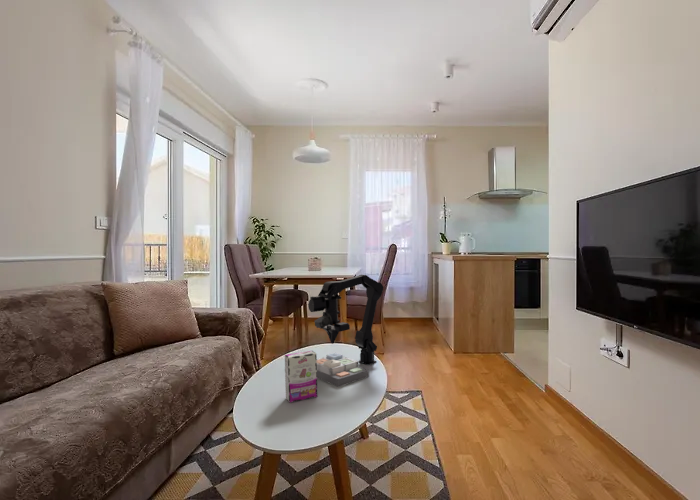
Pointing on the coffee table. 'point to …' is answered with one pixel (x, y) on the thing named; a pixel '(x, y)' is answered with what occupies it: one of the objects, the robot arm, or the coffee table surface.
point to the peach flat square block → (321, 361)
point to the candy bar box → (301, 376)
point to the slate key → (334, 356)
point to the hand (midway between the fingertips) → (332, 343)
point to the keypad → (341, 372)
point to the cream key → (332, 363)
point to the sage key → (345, 361)
